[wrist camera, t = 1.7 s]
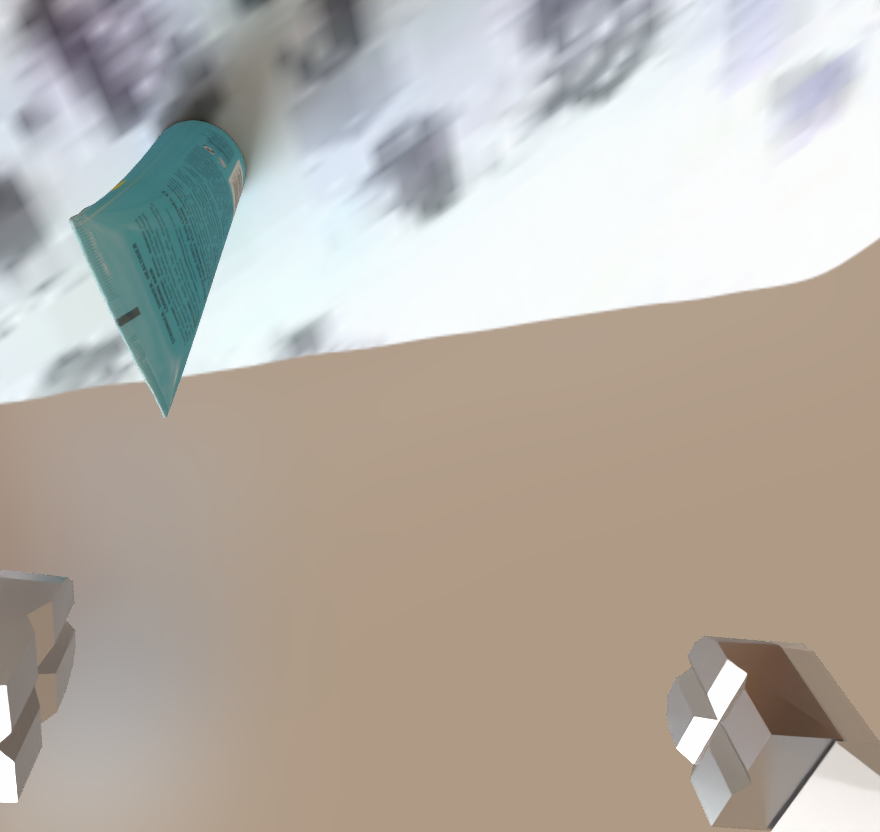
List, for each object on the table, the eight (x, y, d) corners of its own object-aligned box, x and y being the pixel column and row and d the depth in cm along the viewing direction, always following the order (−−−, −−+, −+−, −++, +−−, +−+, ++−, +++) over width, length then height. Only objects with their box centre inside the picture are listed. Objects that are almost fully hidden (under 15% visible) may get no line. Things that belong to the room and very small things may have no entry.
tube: (125, 111, 37) (-11, 244, 21) (214, 84, 37) (142, 196, 21) (189, 242, 41) (115, 433, 26) (269, 218, 41) (243, 395, 25)
